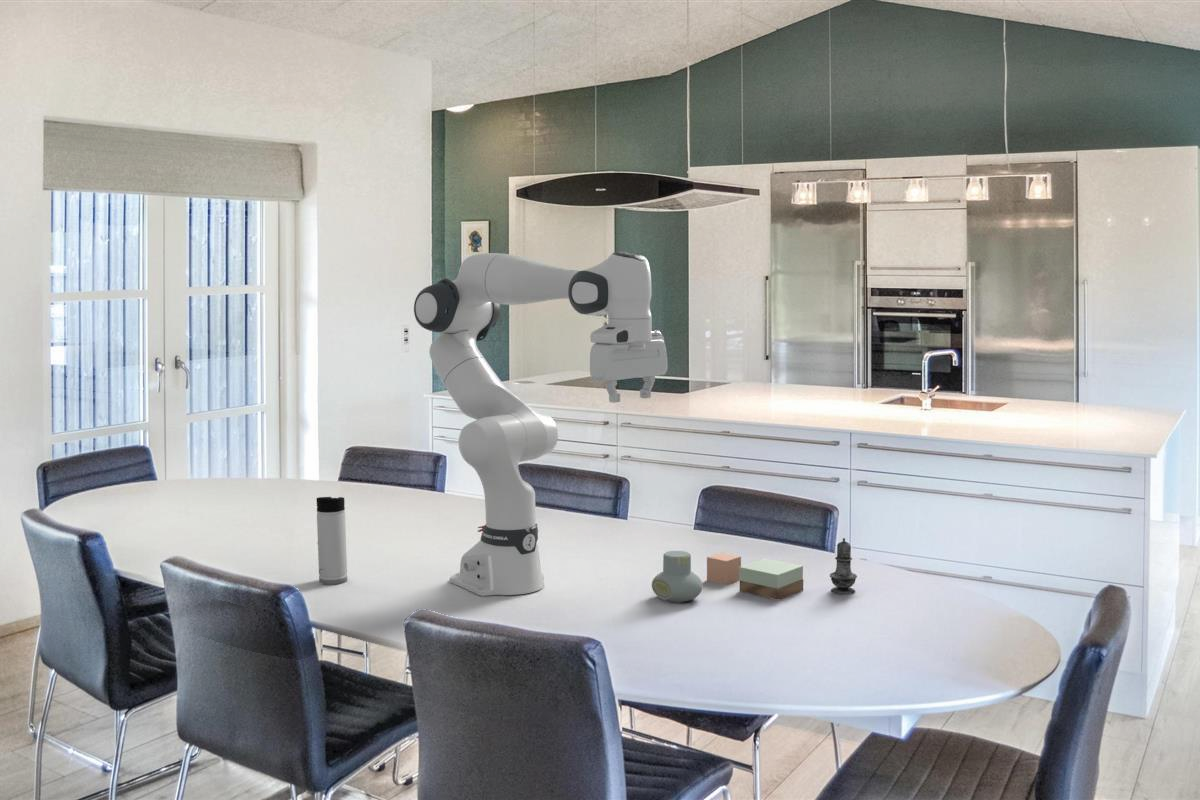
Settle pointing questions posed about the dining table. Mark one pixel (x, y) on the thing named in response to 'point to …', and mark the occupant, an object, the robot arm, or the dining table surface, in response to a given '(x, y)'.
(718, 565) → the terracotta block
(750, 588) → the walnut base block
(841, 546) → the dark turned finial
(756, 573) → the sage top block
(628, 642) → the dining table surface
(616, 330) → the robot arm
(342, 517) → the travel mug
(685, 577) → the air freshener
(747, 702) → the dining table surface
